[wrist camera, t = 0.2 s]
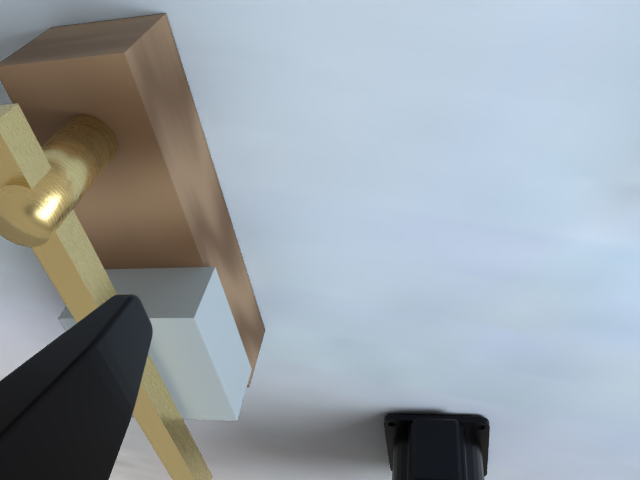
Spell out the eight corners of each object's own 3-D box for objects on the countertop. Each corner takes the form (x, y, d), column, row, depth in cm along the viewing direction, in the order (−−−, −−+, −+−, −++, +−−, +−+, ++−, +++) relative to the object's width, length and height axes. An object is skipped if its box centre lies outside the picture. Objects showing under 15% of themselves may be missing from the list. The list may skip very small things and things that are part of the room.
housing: (265, 329, 33) (249, 387, 30) (185, 329, 34) (161, 385, 31) (166, 13, 22) (124, 52, 19) (51, 27, 23) (-7, 66, 20)
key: (235, 420, 32) (210, 509, 28) (202, 419, 32) (173, 506, 28) (82, 58, 19) (-4, 130, 15) (29, 63, 19) (-67, 135, 15)
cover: (251, 369, 29) (237, 421, 26) (143, 367, 30) (120, 417, 28) (215, 266, 24) (194, 317, 22) (90, 269, 26) (58, 318, 23)
